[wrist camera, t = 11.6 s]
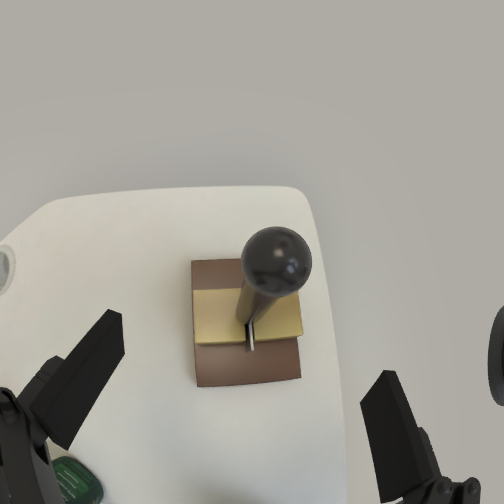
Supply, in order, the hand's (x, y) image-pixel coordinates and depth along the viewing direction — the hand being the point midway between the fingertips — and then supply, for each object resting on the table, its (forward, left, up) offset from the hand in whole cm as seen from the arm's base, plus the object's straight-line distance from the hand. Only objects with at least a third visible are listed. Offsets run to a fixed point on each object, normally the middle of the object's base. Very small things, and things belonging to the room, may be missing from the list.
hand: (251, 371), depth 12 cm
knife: (+5, -1, -16) cm, 17 cm away
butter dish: (+5, -1, -17) cm, 18 cm away
